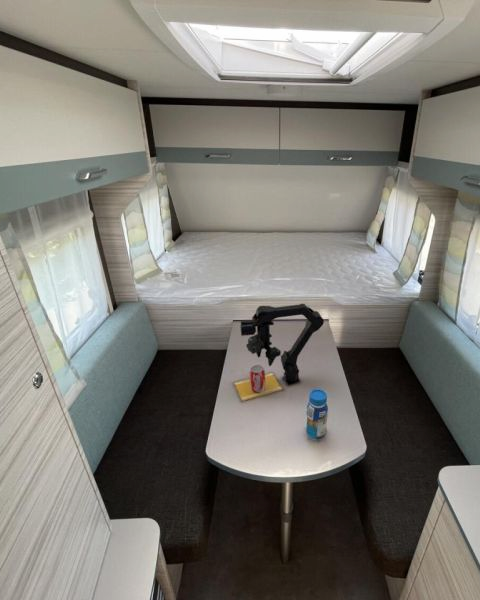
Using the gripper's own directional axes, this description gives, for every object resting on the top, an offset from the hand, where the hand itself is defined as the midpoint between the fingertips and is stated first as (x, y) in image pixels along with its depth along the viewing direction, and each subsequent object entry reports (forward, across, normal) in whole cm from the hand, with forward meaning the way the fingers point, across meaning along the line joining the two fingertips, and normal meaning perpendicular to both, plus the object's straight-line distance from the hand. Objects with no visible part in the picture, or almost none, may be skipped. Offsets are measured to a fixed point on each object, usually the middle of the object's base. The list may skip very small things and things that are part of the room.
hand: (264, 361), depth 156 cm
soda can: (+13, +2, -6) cm, 14 cm away
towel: (+13, 0, -4) cm, 14 cm away
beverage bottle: (+13, +39, -2) cm, 41 cm away
